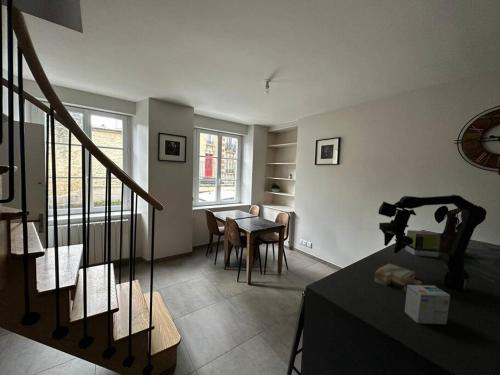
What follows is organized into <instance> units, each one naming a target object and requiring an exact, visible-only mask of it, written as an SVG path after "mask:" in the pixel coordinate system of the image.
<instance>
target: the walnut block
mask: <svg viewBox="0 0 500 375" xmlns="http://www.w3.org/2000/svg"><path fill="white" fill-rule="evenodd" d="M407 285H423V281H421V280H418V279H415V278H414V279H413V278H410V277H408V278H407V279H405V282H404V285H403V292H406V293H407Z"/></svg>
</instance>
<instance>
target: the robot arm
mask: <svg viewBox="0 0 500 375" xmlns="http://www.w3.org/2000/svg"><path fill="white" fill-rule="evenodd" d="M436 205H437V206H440V205H454V206H455V207H456V208H457V209H459V210H460V211H461V212H460V220H461V223H460V225H459V226H460V227H459V229H458V231H457V232H456V234H457V235H456V238H455V241H454V243H453V246H452V248H451V250H450V251H449V252H448V253H446V252H442V257H441V258H440V260H441V264H442V266H443V267H444V269H445V270H446V274H444V279H443V284H444V285H443V286H444V287H446V288H449V289H452V290H454V291H457V292H460V293H463V292H464V291H465V289H466V280H467V281H468V279H470V278H471V275H470V274H469V273H468V272H467V271H466V270H465V254H466V251H467V248H468V246H469V243H470V241H471V240H472V236H473V234H474V231H475V229H476V227H477V226H478V225H480V223H482V222H483V220H484V219H485V217H486V216H487V210H486V209H485V208H484V207H482V206H481V205H480V206H479V205H476V204H474V203H472V202H471V201H468V200H467V199H465V198H464V197H462V196H461V195H458V194H450V195H440V196H439V195H437V196H423V197H422V196H412V195H403V196H402V197H401V198H399V200H398V201H397V202H395V203H394V204H392V203H388V202H386V201H382V203H381V205H380V206H379V208H378V211H377V212H378V215H381V216H385V217H387V218H392V217H393V218H394V219H391V220H390V222H379V223H378V226H379V227H378V229H379V230H380V231H381V232H382V233H383V235H384V236H383V237H384V238H383V242H384V244H383V245H384V246H385V247H388V245H389V244H390V242H391V241H392V240H393V239H394V241H395V246H394V249H393V250H394V251H393V254H398V253H399V252H400V251H402V250H403V249H405V248H406V246H407V245H410V244H413V239H412V238H411V237H409V236H407V232H405V231H406V228H409V227H410V226H409V225H408V222H409V221H410V218H411V215H412V216H417V213H416V211H415V209H417V208H421V207H425V206H436ZM394 237H395V238H394Z"/></svg>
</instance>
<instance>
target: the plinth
mask: <svg viewBox="0 0 500 375" xmlns="http://www.w3.org/2000/svg"><path fill="white" fill-rule="evenodd" d="M379 269H382V270H384V271H387V272H390V273H392V274H391V281H393V282H395V283H397V284H399V285H403V286H404V282H405V279H407V278H408V277H410V278H413V279H415V277H416V272H415V271H413V270H410V269H407V268H404V267H401V266H399V265H395V264H392V263H390V262H389V263H387V264H384V265H383V266H382V265H381V267H378V268H377V270H379ZM377 270H376V271H377Z"/></svg>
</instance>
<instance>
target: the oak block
mask: <svg viewBox="0 0 500 375" xmlns="http://www.w3.org/2000/svg"><path fill="white" fill-rule="evenodd" d="M374 272H375V273H374V282H375V283H377V284H380V285H382V286H384V287H387V286H389V285H390V284H391V281H392V280H391V274H392V273H390V272H387V271H384V270H382V269H379V270H376V271H374Z"/></svg>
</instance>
